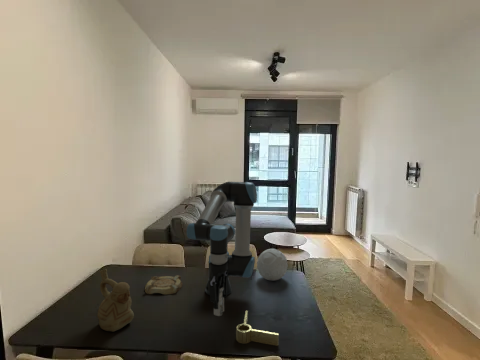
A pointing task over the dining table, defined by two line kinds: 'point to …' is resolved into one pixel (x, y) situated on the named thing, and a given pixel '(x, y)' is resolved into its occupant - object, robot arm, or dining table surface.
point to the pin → (220, 299)
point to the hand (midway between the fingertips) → (218, 312)
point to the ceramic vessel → (114, 304)
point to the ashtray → (163, 285)
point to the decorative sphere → (272, 264)
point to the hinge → (254, 334)
